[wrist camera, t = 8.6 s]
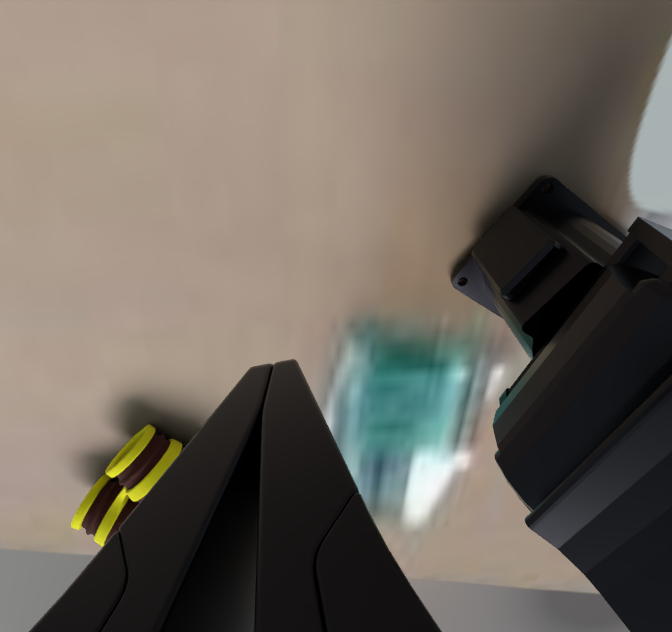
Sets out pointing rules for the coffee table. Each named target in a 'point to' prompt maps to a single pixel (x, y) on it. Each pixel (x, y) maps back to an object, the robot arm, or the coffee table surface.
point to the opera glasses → (125, 483)
